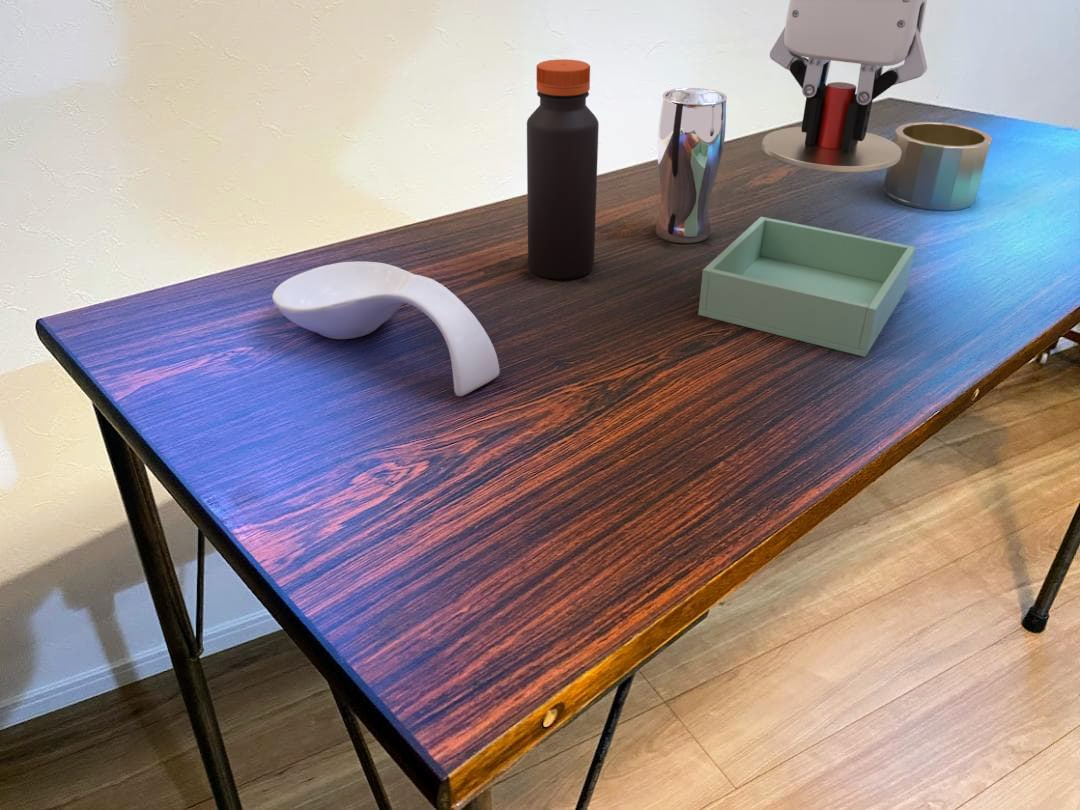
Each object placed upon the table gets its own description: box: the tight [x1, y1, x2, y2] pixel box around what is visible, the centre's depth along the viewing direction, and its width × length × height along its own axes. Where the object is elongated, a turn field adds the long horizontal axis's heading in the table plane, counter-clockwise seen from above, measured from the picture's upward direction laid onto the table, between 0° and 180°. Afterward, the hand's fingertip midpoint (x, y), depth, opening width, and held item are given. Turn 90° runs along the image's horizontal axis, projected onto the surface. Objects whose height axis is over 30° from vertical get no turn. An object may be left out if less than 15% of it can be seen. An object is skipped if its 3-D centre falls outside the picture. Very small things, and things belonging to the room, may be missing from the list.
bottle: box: [526, 58, 600, 281], centre depth 88 cm, size 7×7×20 cm
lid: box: [761, 81, 902, 173], centre depth 77 cm, size 12×12×6 cm
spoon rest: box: [271, 261, 501, 397], centre depth 78 cm, size 24×12×7 cm, turn 49°
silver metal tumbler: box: [654, 87, 728, 244], centre depth 97 cm, size 7×7×15 cm
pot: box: [883, 121, 993, 212], centre depth 109 cm, size 11×11×8 cm
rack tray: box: [697, 216, 917, 358], centre depth 85 cm, size 15×15×5 cm
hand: (831, 143), depth 78 cm, fingers closed on lid, 2 cm apart
